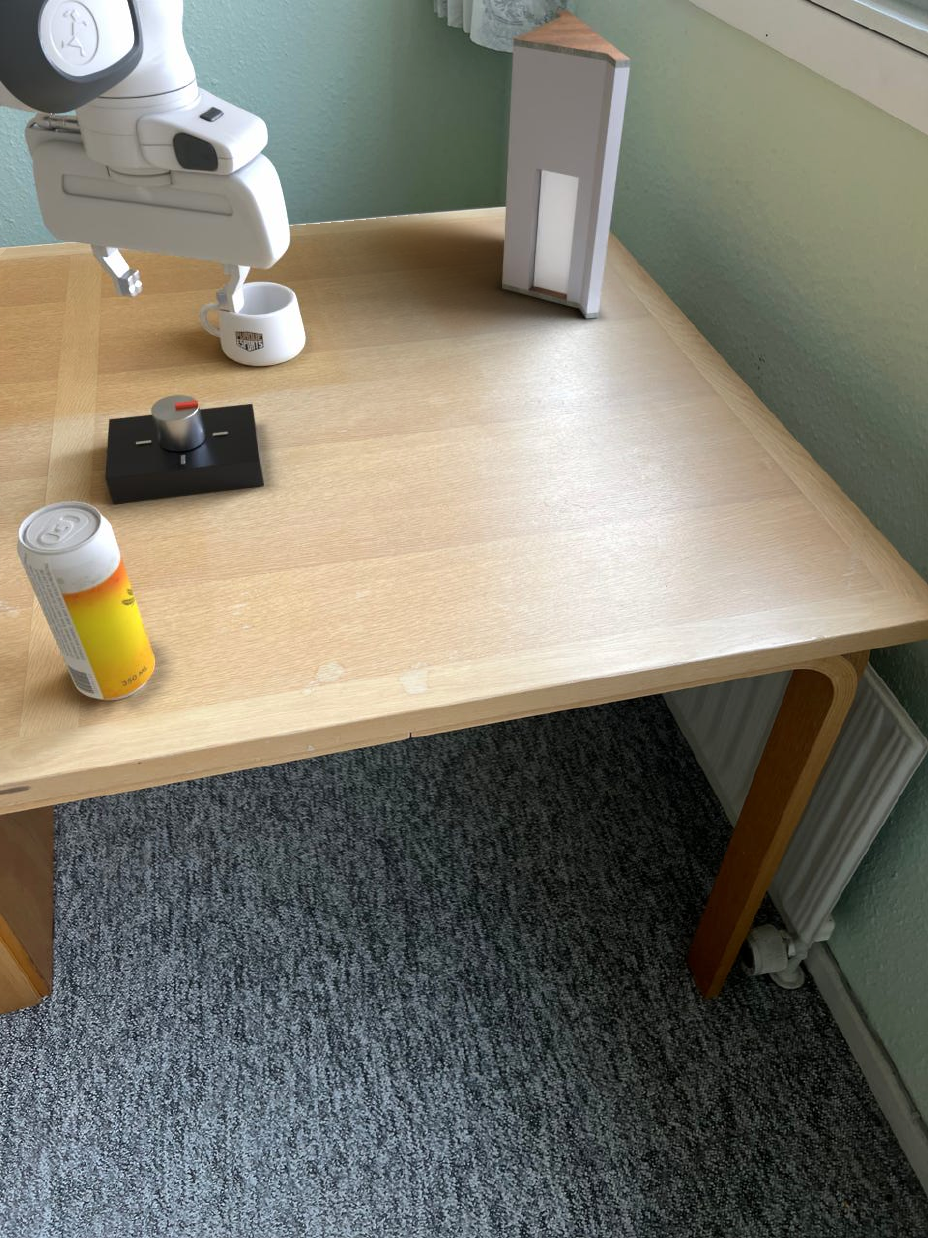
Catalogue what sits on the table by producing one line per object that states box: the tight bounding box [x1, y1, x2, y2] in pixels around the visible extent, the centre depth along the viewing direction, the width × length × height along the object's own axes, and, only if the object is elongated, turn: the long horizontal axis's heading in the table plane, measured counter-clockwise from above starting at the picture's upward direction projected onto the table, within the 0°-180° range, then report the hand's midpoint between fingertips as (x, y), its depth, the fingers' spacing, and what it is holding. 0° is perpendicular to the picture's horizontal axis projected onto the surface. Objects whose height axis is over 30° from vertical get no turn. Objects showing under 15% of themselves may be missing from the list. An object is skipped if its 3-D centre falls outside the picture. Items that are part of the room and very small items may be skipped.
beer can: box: [16, 500, 156, 701], centre depth 66 cm, size 6×6×15 cm
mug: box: [199, 281, 306, 367], centre depth 105 cm, size 12×10×6 cm
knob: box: [150, 394, 206, 452], centre depth 87 cm, size 4×4×4 cm
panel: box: [104, 403, 265, 505], centre depth 90 cm, size 14×10×3 cm
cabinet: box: [501, 9, 632, 319], centre depth 110 cm, size 21×10×28 cm, turn 13°
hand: (180, 301), depth 78 cm, fingers open, 8 cm apart
